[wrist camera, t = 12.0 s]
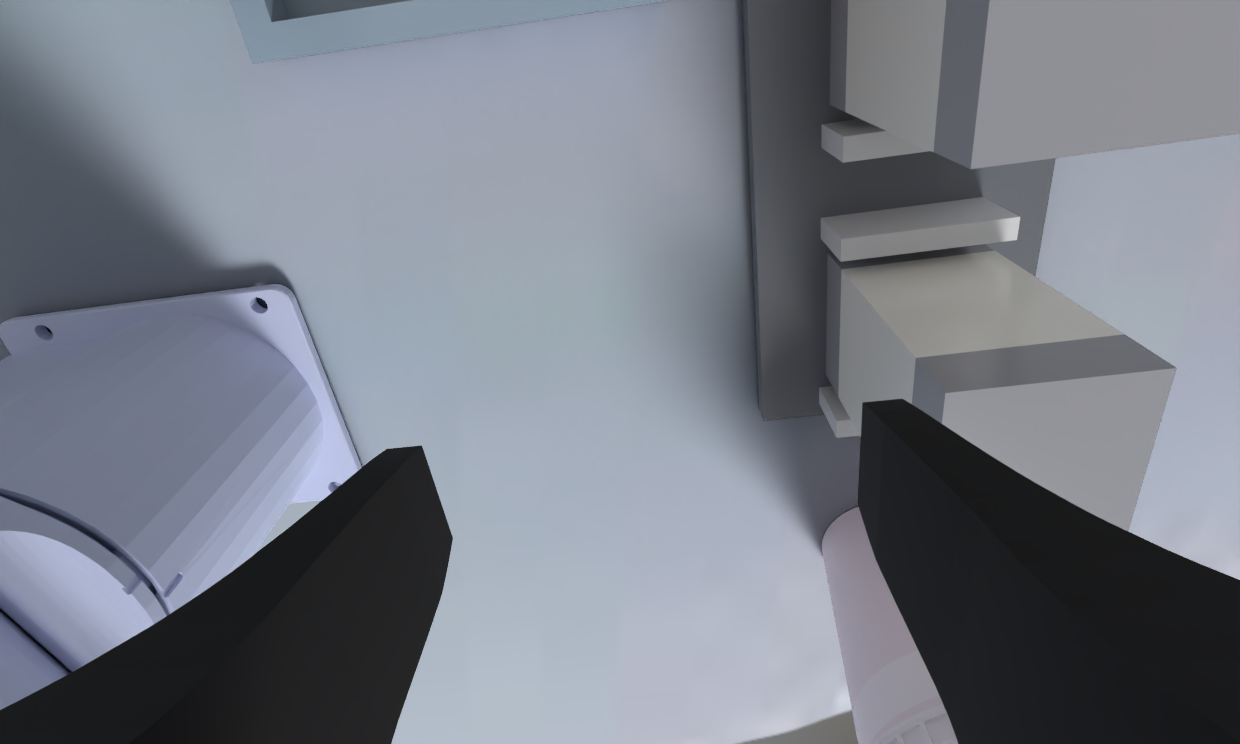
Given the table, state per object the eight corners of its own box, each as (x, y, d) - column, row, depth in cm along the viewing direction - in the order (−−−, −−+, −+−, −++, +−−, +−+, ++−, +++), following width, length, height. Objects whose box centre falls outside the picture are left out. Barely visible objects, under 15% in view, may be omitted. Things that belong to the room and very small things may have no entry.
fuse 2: (825, 374, 21) (927, 557, 14) (827, 252, 19) (945, 393, 12) (955, 359, 21) (1126, 538, 14) (970, 235, 19) (1177, 368, 12)
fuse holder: (759, 408, 23) (775, 456, 20) (713, -699, 12) (737, -886, 9) (1002, 381, 22) (1050, 428, 20) (1191, -805, 11) (1350, -1036, 9)
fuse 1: (829, 104, 17) (970, 169, 10) (832, -80, 15) (1007, -156, 8) (988, 82, 17) (1247, 132, 10) (1010, -108, 15) (1348, -212, 8)
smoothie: (771, 596, 27) (896, 1094, 14) (805, 467, 24) (999, 958, 11) (928, 606, 27) (1183, 1106, 15) (981, 479, 24) (1359, 975, 12)
